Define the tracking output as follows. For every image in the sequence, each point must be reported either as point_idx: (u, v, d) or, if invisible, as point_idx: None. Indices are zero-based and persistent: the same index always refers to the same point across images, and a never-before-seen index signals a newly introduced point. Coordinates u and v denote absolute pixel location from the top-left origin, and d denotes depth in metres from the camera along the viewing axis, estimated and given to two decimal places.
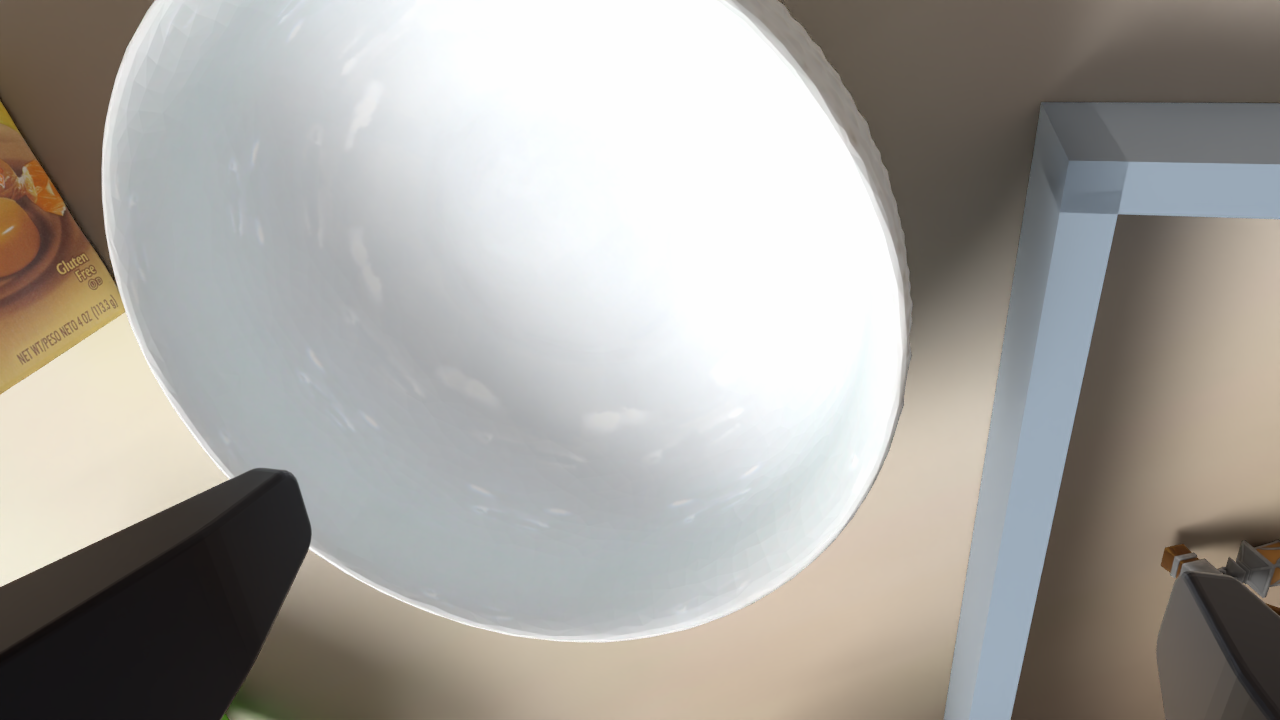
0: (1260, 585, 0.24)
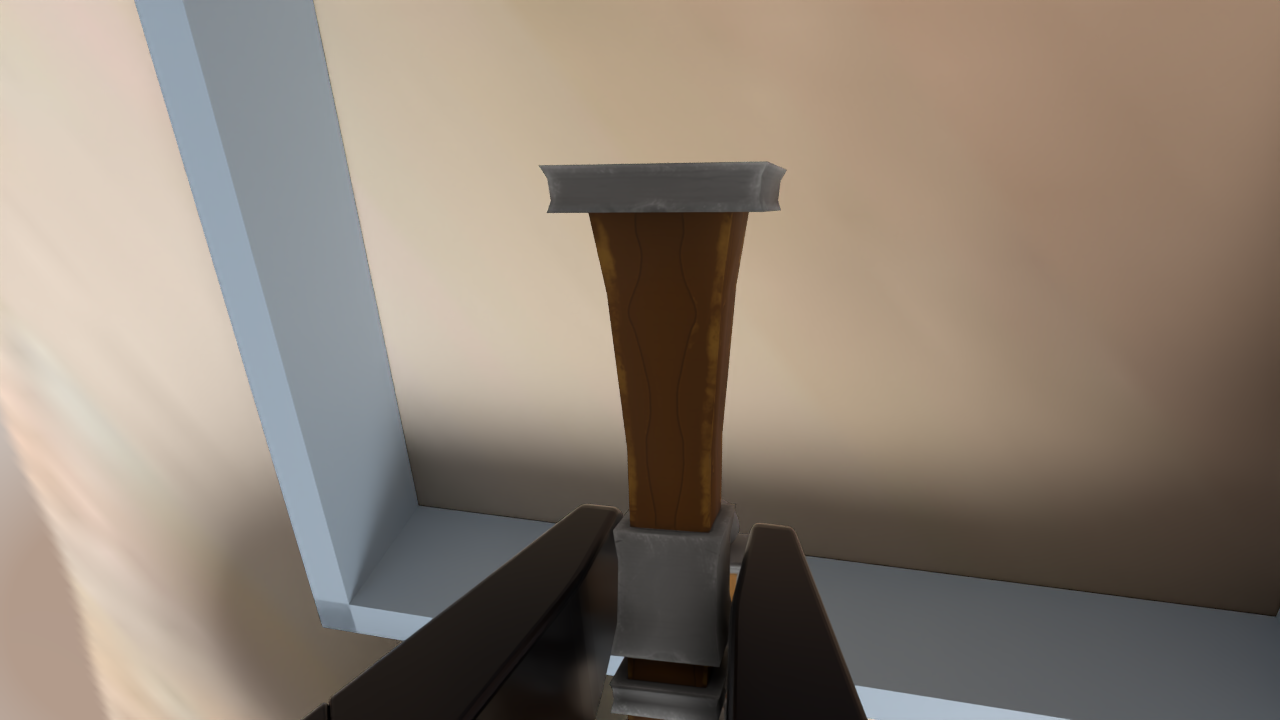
0: None
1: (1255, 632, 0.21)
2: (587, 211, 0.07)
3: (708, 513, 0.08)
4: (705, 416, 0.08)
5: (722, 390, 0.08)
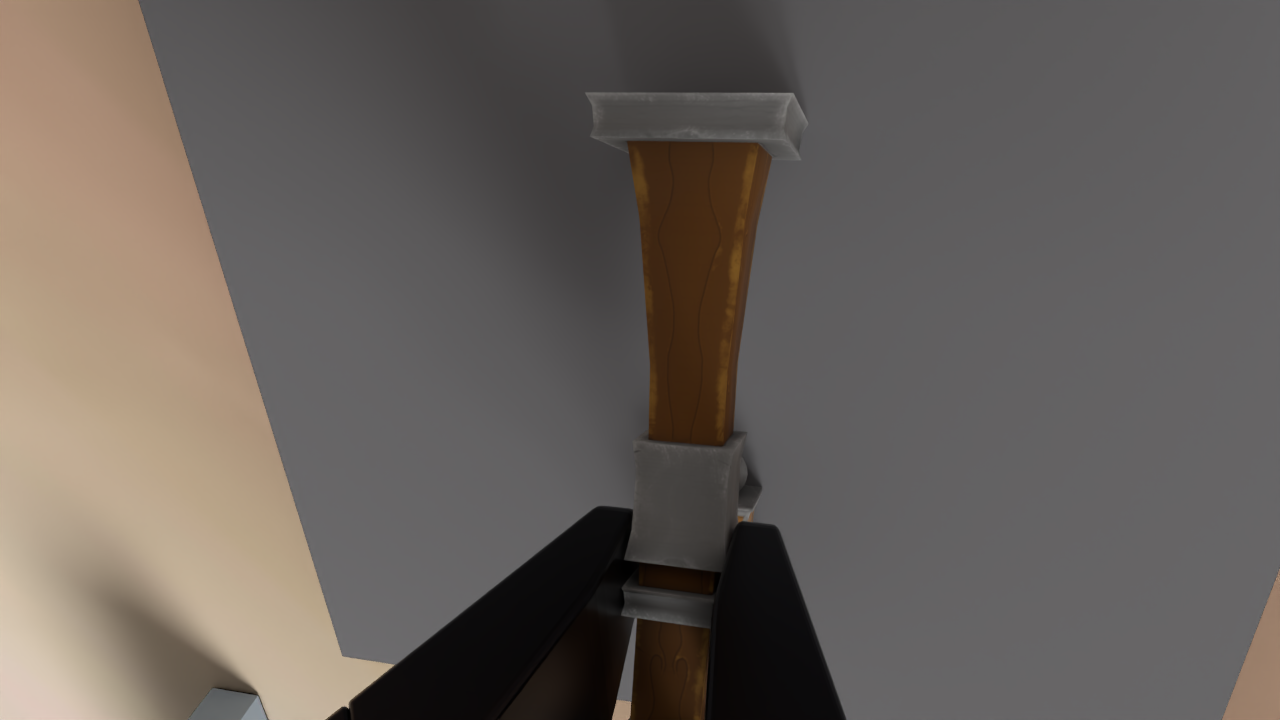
0: None
1: None
2: (626, 135, 0.08)
3: (722, 428, 0.09)
4: (724, 336, 0.08)
5: (740, 319, 0.09)
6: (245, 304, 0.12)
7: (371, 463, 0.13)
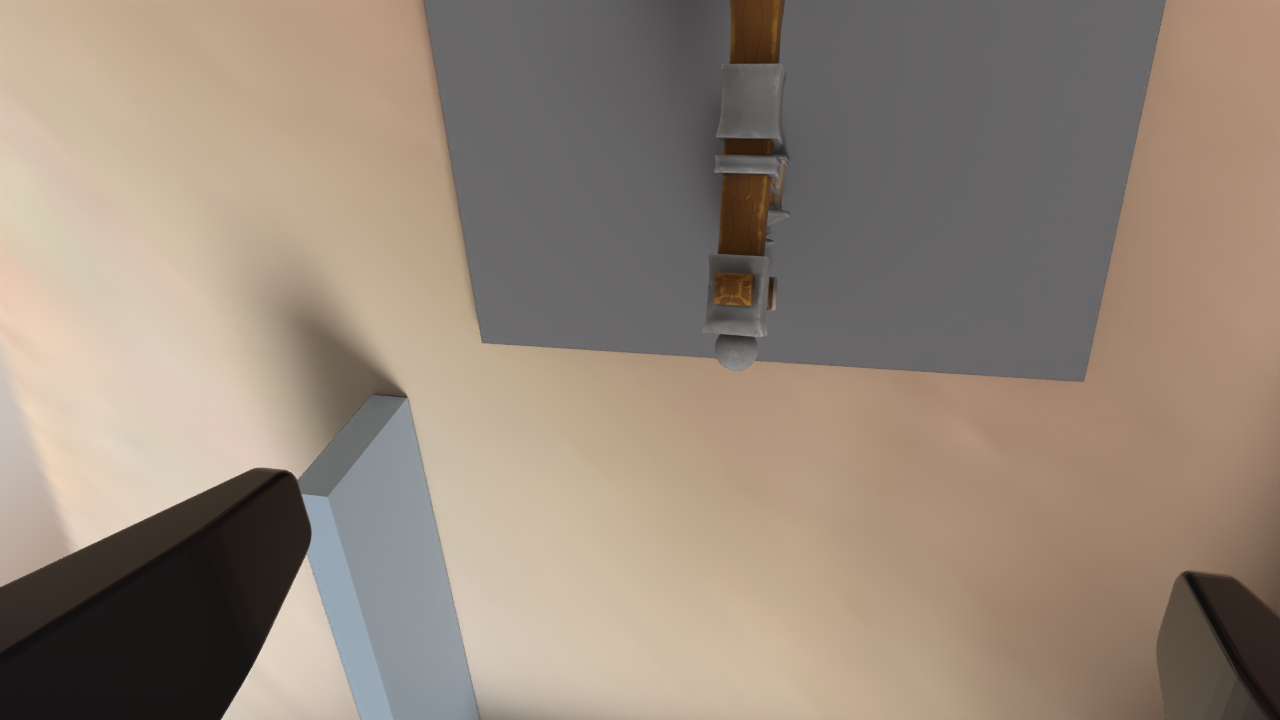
0: (767, 217, 0.17)
1: None
2: None
3: (774, 53, 0.15)
4: None
5: None
6: (440, 48, 0.18)
7: (519, 170, 0.19)
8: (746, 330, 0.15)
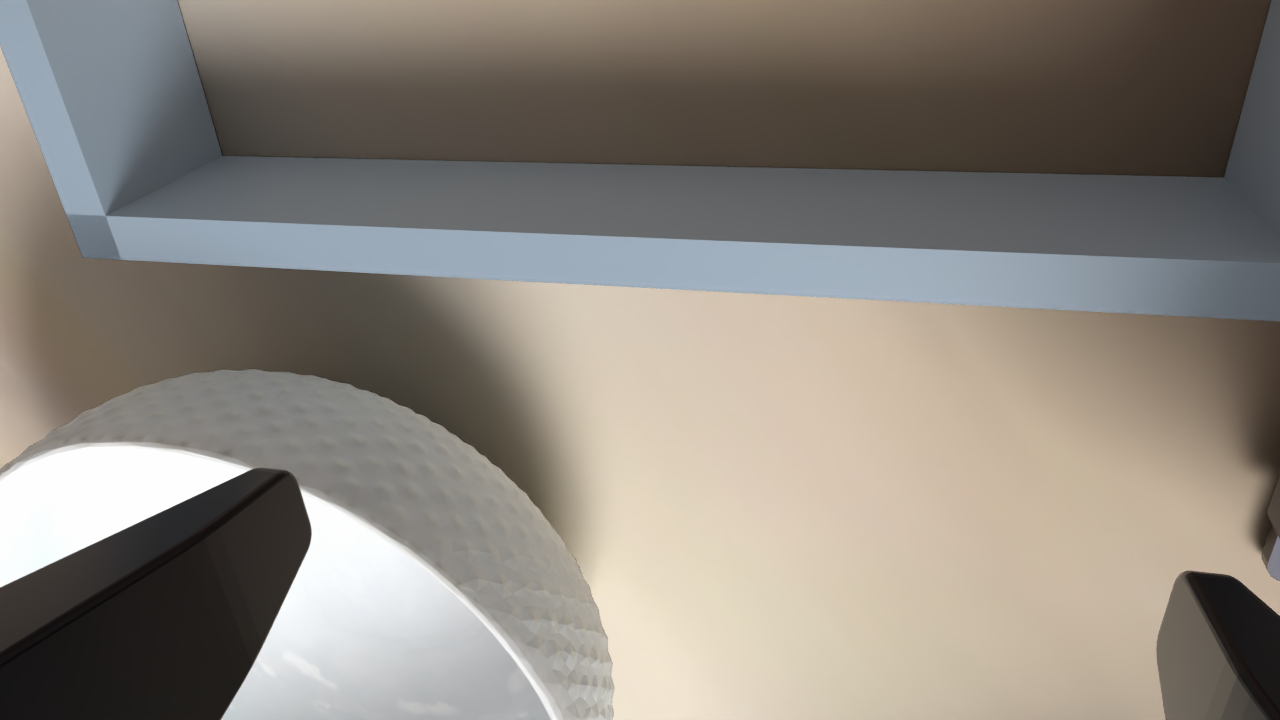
0: None
1: (1197, 187, 0.17)
2: None
3: None
4: None
5: None
6: None
7: None
8: None
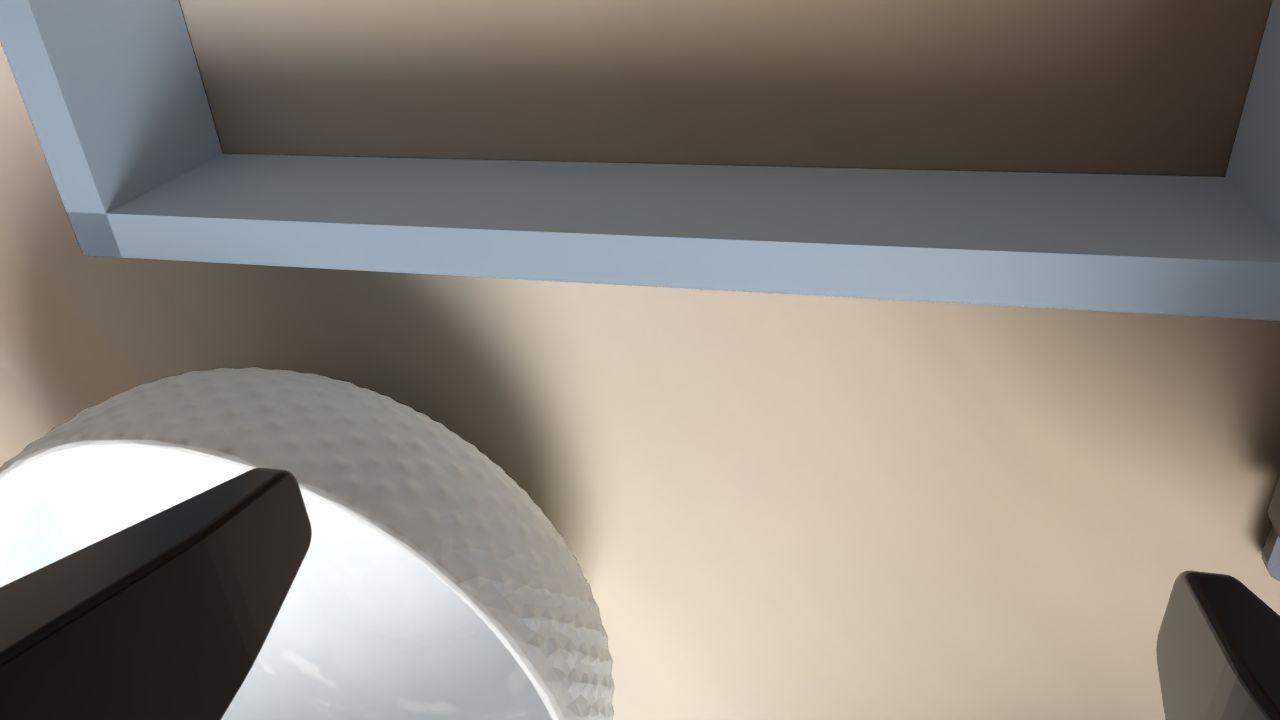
0: None
1: (1198, 187, 0.17)
2: None
3: None
4: None
5: None
6: None
7: None
8: None
